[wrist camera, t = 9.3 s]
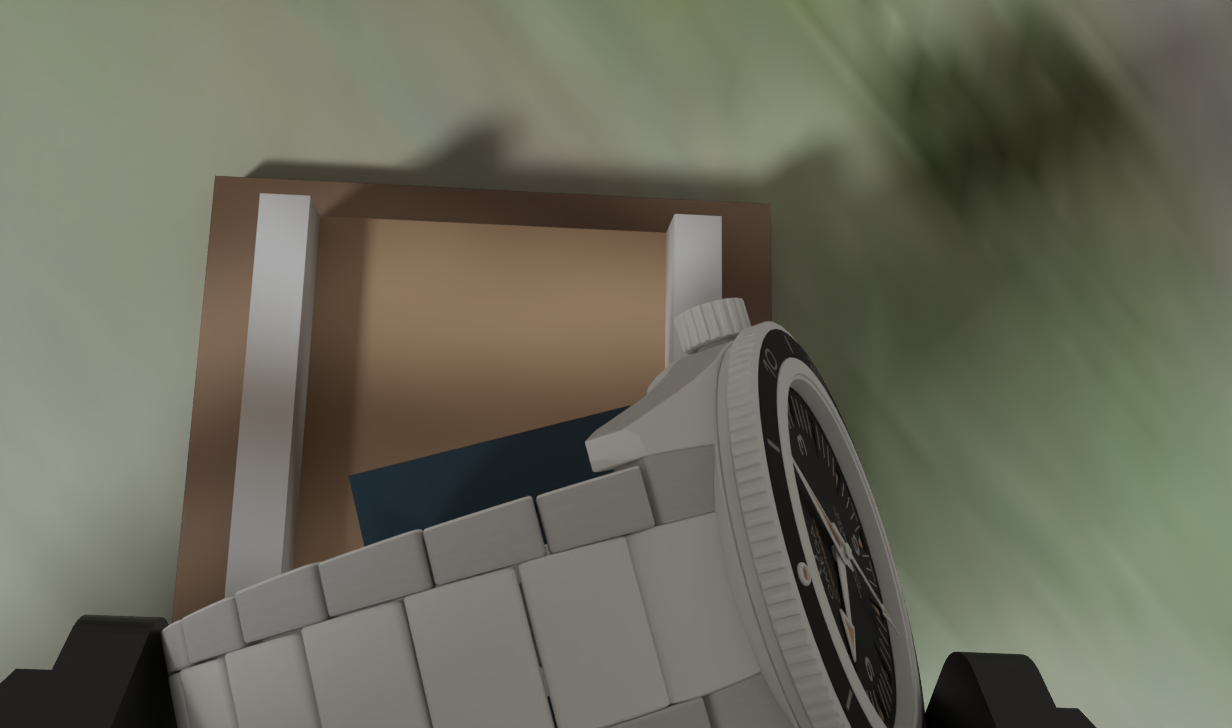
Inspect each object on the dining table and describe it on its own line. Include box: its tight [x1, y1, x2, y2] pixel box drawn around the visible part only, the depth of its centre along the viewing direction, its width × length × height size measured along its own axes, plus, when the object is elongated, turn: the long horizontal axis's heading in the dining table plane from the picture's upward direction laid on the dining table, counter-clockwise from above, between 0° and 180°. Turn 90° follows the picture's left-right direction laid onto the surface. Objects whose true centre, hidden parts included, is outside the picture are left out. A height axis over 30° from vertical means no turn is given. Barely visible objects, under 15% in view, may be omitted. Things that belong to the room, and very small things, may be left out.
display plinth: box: [172, 176, 772, 623], centre depth 29 cm, size 16×16×6 cm
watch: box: [161, 298, 926, 728], centre depth 14 cm, size 6×8×11 cm
